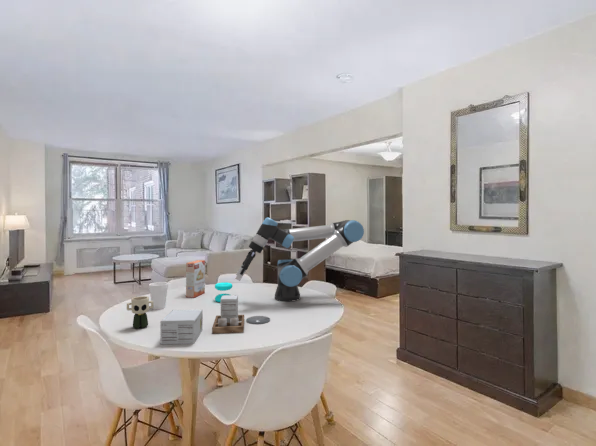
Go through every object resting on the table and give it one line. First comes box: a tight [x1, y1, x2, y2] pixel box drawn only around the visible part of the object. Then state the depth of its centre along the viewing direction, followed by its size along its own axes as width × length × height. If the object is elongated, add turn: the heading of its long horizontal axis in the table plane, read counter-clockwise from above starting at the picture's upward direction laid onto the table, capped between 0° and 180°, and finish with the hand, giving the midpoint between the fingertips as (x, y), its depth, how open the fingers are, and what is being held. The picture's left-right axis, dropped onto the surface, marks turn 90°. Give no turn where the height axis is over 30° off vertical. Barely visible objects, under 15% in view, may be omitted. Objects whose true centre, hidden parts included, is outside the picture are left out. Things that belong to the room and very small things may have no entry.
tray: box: [211, 314, 245, 335], centre depth 161 cm, size 13×18×5 cm
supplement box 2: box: [220, 294, 239, 323], centre depth 164 cm, size 7×7×13 cm
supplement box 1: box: [159, 308, 204, 345], centre depth 148 cm, size 17×13×9 cm
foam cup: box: [148, 281, 169, 311], centre depth 192 cm, size 10×9×13 cm
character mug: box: [126, 295, 154, 329], centre depth 160 cm, size 11×7×13 cm, turn 114°
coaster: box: [245, 315, 271, 325], centre depth 170 cm, size 11×11×1 cm
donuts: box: [214, 282, 233, 303], centre depth 208 cm, size 10×10×10 cm
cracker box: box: [185, 259, 206, 299], centre depth 221 cm, size 14×6×21 cm, turn 168°
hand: (237, 277), depth 195 cm, fingers open, 13 cm apart
